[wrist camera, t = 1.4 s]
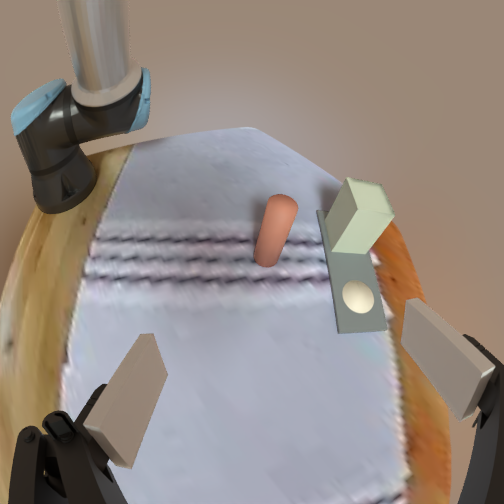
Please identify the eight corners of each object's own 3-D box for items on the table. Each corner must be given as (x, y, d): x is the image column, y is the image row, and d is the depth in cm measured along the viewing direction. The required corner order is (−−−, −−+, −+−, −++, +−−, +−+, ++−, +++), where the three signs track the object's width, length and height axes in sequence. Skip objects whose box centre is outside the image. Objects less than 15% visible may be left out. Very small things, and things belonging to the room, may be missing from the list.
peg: (253, 245, 45) (266, 192, 36) (277, 247, 46) (296, 196, 36) (253, 266, 43) (268, 215, 33) (278, 268, 44) (299, 218, 34)
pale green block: (324, 220, 50) (346, 177, 41) (356, 224, 51) (381, 184, 42) (331, 251, 46) (357, 208, 37) (365, 254, 47) (395, 214, 38)
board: (316, 212, 52) (323, 197, 49) (356, 217, 53) (365, 203, 50) (338, 333, 39) (349, 324, 35) (385, 330, 40) (399, 321, 36)
